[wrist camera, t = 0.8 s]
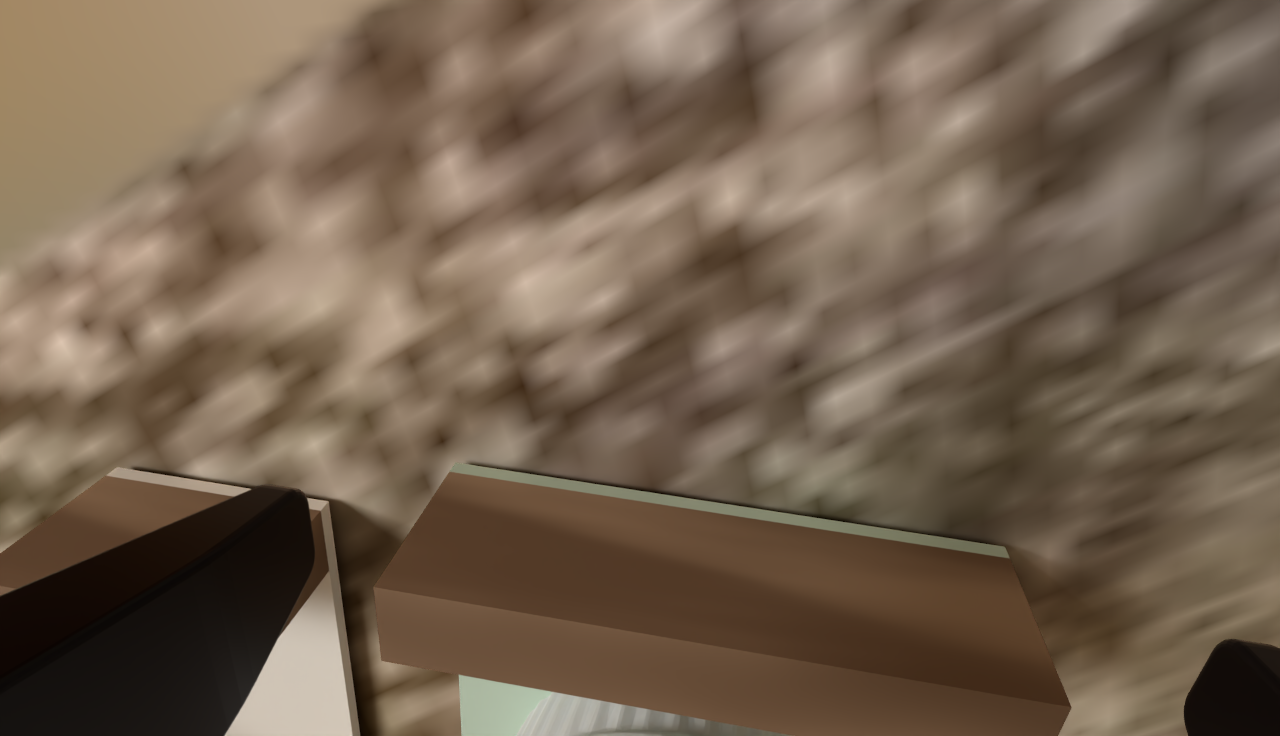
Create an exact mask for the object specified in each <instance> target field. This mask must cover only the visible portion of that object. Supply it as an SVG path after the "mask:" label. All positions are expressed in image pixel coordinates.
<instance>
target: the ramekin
mask: <svg viewBox="0 0 1280 736" xmlns="http://www.w3.org/2000/svg"><path fill="white" fill-rule="evenodd" d="M516 736H792V735H786V734H781V733H775V732H770V731H764V730H759V729H753V728H748V727H742V726H737V725H731V724H726V723H720V722H715V721H709V720H704V719H698V718H693V717H687V716H682V715H676V714H671V713H665V712H660V711H655V710H649V709H644V708H638V707H633V706H627V705H622V704H616V703H611V702H605V701H600V700H594V699H589V698H583V697H578V696H572V695H567V694H561V693H556V692H552V693H551V695H550V696H548V697H547V698H545V699H543V700H541V701H540V702H539V703H538V705H537V707H536V708H535V709H534V710H532V711H531V712H530V713H529V715H528V717H527V719H526V720H525V722H524V724H523V725H522V726H521V728H520V730H519V731H518V733H517V735H516Z"/></svg>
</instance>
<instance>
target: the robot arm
mask: <svg viewBox="0 0 1280 736" xmlns="http://www.w3.org/2000/svg"><path fill="white" fill-rule="evenodd" d="M314 562H315V544H314V537H313V530H312V523H311V516H310V510H309V503H308V499H307V497H306V495H305V494H304V493H303V492H302V491H301V490H299V489H295V488H289V487H283V486H276V485H261V486H258V487H256V488H253V489H251V490H249V491H246V492H244V493H242V494H239V495H237V496H234V497H232V498H230V499H227V500H225V501H223V502H220V503H218V504H215V505H213V506H211V507H208V508H206V509H204V510H201V511H199V512H197V513H194V514H192V515H189V516H187V517H185V518H182V519H180V520H178V521H175V522H173V523H171V524H168V525H166V526H163V527H161V528H159V529H156V530H154V531H152V532H149V533H147V534H144V535H142V536H140V537H137V538H135V539H133V540H130V541H128V542H126V543H123V544H121V545H118V546H116V547H114V548H111V549H109V550H107V551H104V552H102V553H100V554H97V555H95V556H92V557H90V558H88V559H85V560H83V561H81V562H78V563H76V564H74V565H71V566H69V567H66V568H64V569H62V570H59V571H57V572H55V573H52V574H50V575H47V576H45V577H43V578H40V579H38V580H36V581H33V582H31V583H29V584H26V585H24V586H21V587H19V588H17V589H14V590H12V591H10V592H7V593H5V594H3V595H0V736H225V734H226V733H227V731H228V729H229V728H230V726H231V725H232V723H233V721H234V720H235V718H236V716H237V715H238V713H239V712H240V710H241V708H242V707H243V705H244V703H245V701H246V699H247V698H248V696H249V694H250V692H251V690H252V688H253V687H254V685H255V683H256V681H257V679H258V677H259V675H260V673H261V671H262V669H263V667H264V665H265V663H266V661H267V659H268V657H269V655H270V653H271V652H272V650H273V648H274V646H275V644H276V642H277V640H278V638H279V636H280V634H281V632H282V630H283V628H284V626H285V624H286V622H287V620H288V618H289V616H290V614H291V612H292V610H293V608H294V606H295V604H296V602H297V600H298V599H299V597H300V595H301V593H302V591H303V589H304V587H305V585H306V583H307V581H308V579H309V577H310V575H311V572H312V569H313V566H314ZM1184 720H1185V726H1186V730H1187V733H1188V736H1280V648H1277V647H1275V646H1272V645H1268V644H1262V643H1256V642H1250V641H1244V640H1237V639H1228V640H1224V641H1222V642H1221V643H1219V644H1218V645H1217V646H1216V647H1215V648H1214V650H1213V651H1212V653H1211V655H1210V657H1209V658H1208V660H1207V662H1206V664H1205V665H1204V667H1203V669H1202V671H1201V672H1200V674H1199V676H1198V678H1197V679H1196V681H1195V683H1194V685H1193V686H1192V688H1191V690H1190V692H1189V693H1188V695H1187V698H1186V701H1185V706H1184Z"/></svg>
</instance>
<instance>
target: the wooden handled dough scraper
mask: <svg viewBox="0 0 1280 736" xmlns="http://www.w3.org/2000/svg"><path fill="white" fill-rule="evenodd" d="M373 588H374V597H375V606H376V615H377V625H378V634H379V643H380V652H381V661H386V662H391V663H397V664H402V665H408V666H413V667H419V668H424V669H430V670H435V671H441V672H446V673H452V674H457V675H459V688H460V710H461V732H462V736H516V735H517V733H518V731H519V730H520V728H521V726H522V725H523V724H524V722H525V720H526V719H527V717H528V715H529V713H530V712H531V711H532V710H534V709H535V708H536V707H537V705H538V703H539V702H540V701H541V700H543V699H545V698H547V697H548V696H550V695H551V693H552V692H556V693H561V694H567V695H572V696H578V697H583V698H589V699H594V700H600V701H605V702H611V703H616V704H622V705H627V706H633V707H638V708H644V709H649V710H655V711H660V712H665V713H671V714H676V715H682V716H687V717H693V718H698V719H704V720H709V721H715V722H720V723H726V724H731V725H737V726H742V727H748V728H753V729H759V730H764V731H770V732H775V733H781V734H786V735H792V736H1058V734H1059V732H1060V730H1061V728H1062V726H1063V724H1064V722H1065V720H1066V718H1067V716H1068V714H1069V712H1070V709H1071V705H1070V703H1069V700H1068V698H1067V695H1066V693H1065V691H1064V688H1063V686H1062V683H1061V681H1060V678H1059V676H1058V674H1057V671H1056V669H1055V666H1054V664H1053V662H1052V659H1051V657H1050V654H1049V652H1048V649H1047V647H1046V645H1045V642H1044V640H1043V637H1042V635H1041V633H1040V630H1039V628H1038V625H1037V623H1036V620H1035V618H1034V616H1033V613H1032V611H1031V608H1030V606H1029V603H1028V601H1027V599H1026V596H1025V594H1024V591H1023V589H1022V587H1021V584H1020V582H1019V579H1018V577H1017V574H1016V572H1015V570H1014V567H1013V565H1012V562H1011V560H1010V558H1009V555H1008V553H1007V550H1006V548H1005V547H1003V546H997V545H990V544H984V543H977V542H971V541H964V540H957V539H951V538H944V537H938V536H931V535H925V534H918V533H912V532H905V531H899V530H892V529H886V528H879V527H873V526H866V525H860V524H853V523H847V522H840V521H834V520H827V519H821V518H814V517H808V516H801V515H794V514H788V513H781V512H775V511H768V510H762V509H755V508H749V507H742V506H736V505H729V504H723V503H716V502H710V501H703V500H697V499H690V498H684V497H677V496H671V495H664V494H658V493H651V492H645V491H638V490H631V489H625V488H618V487H612V486H605V485H599V484H592V483H586V482H579V481H573V480H566V479H560V478H553V477H547V476H540V475H534V474H527V473H521V472H514V471H508V470H501V469H495V468H488V467H482V466H475V465H468V464H462V463H455V464H454V466H453V467H452V469H451V470H450V472H449V473H448V475H447V476H446V478H445V479H444V481H443V482H442V484H441V486H440V487H439V489H438V490H437V492H436V493H435V495H434V496H433V498H432V499H431V501H430V502H429V504H428V505H427V507H426V508H425V510H424V511H423V513H422V514H421V516H420V517H419V519H418V520H417V522H416V523H415V525H414V526H413V528H412V529H411V531H410V532H409V534H408V535H407V537H406V539H405V540H404V542H403V543H402V545H401V546H400V548H399V549H398V551H397V552H396V554H395V555H394V557H393V558H392V560H391V561H390V563H389V564H388V566H387V567H386V569H385V570H384V572H383V573H382V575H381V576H380V578H379V579H378V581H377V582H376V584H375V585H374V587H373Z"/></svg>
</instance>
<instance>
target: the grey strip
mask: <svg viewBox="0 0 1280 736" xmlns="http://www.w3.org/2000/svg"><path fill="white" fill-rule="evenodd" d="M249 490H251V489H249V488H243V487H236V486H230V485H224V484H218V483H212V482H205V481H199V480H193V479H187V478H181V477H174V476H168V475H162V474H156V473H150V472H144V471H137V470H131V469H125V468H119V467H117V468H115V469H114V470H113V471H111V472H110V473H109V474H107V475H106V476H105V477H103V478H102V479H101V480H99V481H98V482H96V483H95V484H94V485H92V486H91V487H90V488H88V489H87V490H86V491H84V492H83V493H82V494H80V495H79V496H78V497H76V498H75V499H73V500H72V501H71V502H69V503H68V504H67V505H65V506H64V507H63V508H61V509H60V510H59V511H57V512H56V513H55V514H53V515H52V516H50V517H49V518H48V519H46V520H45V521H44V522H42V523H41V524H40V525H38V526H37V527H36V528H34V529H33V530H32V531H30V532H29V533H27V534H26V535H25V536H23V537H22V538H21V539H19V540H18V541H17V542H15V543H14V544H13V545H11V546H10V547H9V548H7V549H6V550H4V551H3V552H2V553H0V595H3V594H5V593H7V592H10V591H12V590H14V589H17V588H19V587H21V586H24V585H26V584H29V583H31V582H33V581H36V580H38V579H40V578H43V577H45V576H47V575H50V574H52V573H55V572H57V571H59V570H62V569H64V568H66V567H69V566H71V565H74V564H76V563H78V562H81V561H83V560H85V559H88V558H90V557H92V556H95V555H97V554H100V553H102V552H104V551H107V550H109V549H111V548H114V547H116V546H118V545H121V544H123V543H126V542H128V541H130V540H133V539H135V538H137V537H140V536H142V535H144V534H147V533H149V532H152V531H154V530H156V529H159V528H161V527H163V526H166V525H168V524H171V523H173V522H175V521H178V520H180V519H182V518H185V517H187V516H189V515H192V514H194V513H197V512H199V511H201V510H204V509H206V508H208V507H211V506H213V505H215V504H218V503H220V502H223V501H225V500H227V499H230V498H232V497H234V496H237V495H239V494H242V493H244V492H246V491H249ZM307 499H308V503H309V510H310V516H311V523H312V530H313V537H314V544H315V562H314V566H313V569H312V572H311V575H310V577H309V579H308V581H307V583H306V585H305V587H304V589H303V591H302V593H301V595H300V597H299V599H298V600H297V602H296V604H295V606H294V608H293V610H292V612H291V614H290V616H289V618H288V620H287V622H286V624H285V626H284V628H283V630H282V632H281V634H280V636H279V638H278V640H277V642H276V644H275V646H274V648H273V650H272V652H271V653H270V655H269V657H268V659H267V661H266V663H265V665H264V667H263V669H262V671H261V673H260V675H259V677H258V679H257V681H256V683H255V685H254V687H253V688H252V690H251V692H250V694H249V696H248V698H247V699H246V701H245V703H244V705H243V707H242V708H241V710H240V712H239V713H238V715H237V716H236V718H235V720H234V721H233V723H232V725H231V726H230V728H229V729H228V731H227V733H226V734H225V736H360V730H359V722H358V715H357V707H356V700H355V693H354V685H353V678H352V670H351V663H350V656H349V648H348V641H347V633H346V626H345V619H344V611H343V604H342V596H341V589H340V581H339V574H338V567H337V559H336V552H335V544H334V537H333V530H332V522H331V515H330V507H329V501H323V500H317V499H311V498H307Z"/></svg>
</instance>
